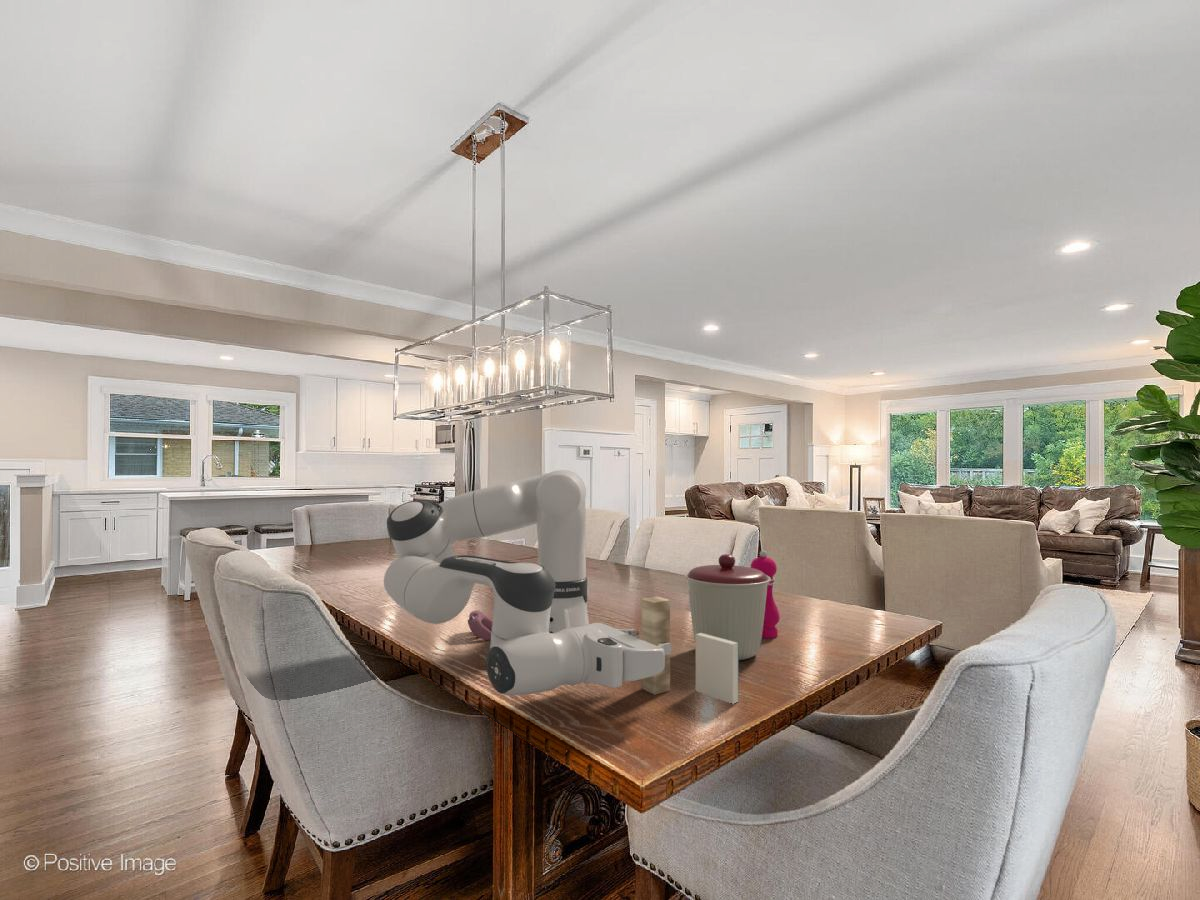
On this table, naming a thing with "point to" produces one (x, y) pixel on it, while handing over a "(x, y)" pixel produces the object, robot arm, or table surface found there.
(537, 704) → the table surface
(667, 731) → the table surface
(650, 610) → the block
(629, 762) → the table surface
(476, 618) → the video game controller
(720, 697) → the tile
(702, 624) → the canister
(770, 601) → the pepper mill
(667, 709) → the table surface
